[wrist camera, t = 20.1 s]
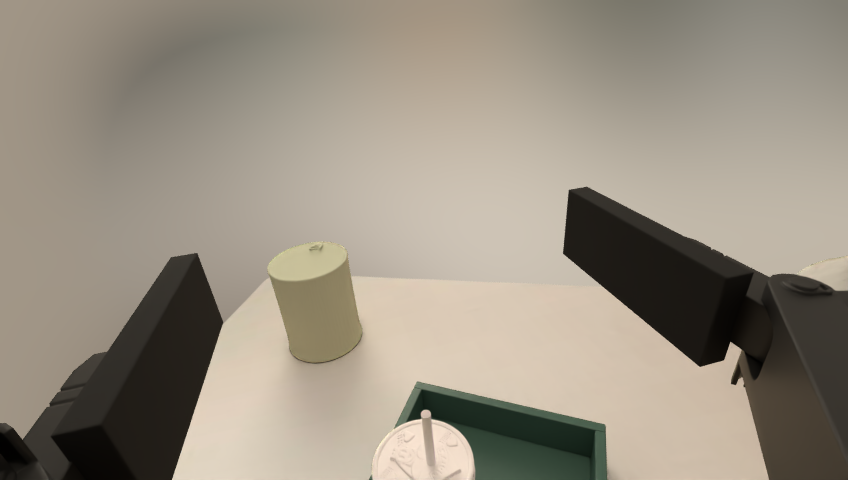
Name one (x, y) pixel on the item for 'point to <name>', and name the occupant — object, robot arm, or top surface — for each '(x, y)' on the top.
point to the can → (316, 300)
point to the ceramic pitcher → (829, 273)
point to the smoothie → (424, 453)
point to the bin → (515, 436)
